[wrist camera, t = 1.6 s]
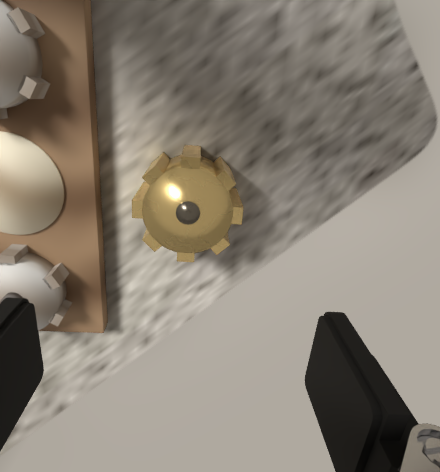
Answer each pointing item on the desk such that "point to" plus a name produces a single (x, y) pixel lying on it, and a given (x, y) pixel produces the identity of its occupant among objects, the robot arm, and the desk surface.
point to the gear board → (51, 165)
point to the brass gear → (188, 204)
